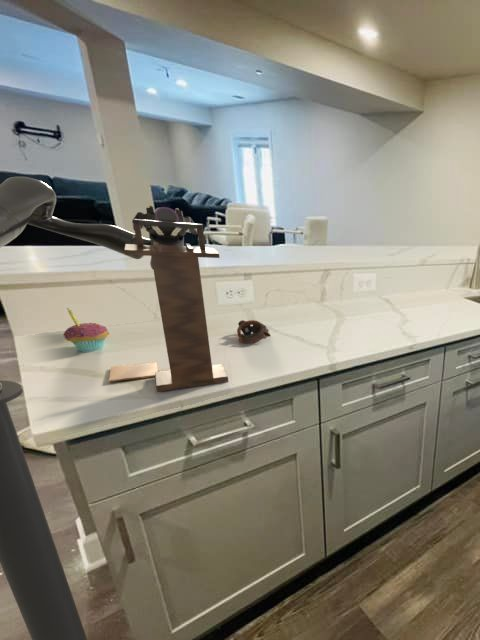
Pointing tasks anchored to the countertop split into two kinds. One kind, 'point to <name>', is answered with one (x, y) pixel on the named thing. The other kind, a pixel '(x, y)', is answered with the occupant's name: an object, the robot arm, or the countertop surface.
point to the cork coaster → (133, 371)
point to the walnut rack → (181, 308)
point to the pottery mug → (257, 329)
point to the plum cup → (166, 214)
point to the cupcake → (86, 335)
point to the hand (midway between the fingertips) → (164, 210)
